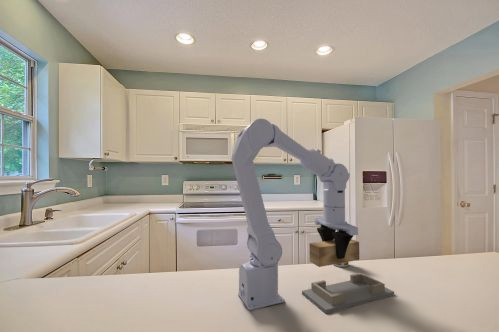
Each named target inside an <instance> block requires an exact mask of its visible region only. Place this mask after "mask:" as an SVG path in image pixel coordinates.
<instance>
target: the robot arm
mask: <svg viewBox="0 0 499 332" xmlns="http://www.w3.org/2000/svg"><path fill="white" fill-rule="evenodd" d="M274 147H275V148H277V149H278V150H279V149H280V150H281V151H283V152H285V153H287V154H288V155H290V156H292V157H294V158H296V159H298V160H299V161H300V165H301V167H302V168H304V169H305V170H307V171H309V172H310V173H312V174H314V175H315V176H317V177H318V179H319V181H320V182H321V183H322V187H323V188H322V189H323V192H322V193H323V194H322V195H323V206H322V207H323V208H322V209H323V210H322V212H323V217H314V225H319V227H317V228H316V231H317V232H318V235H319V236H320V238H321V242H323V241H330V240H334V241H335V245H336V256H337V258H338V259H343V258H345V254H346V250H347V247H348V244H349V242H350V240H351V239H352V240H353V237H354V236H358V235H359V227H358V226H355V225H353V224H350V223H348V221H347V220H346V189H347V182H348V181H349V179H350V175H351V173H350V172H349V171H348V169H347V167H346V166H345V165H344V164H342V163H336V162H335V161H334V159H332V158H328V157H327V156H326V155H324V154H322V153H321V152H322V150H320V149H318V148H309V149H307V148H306V147H304V146H303V145H301V143H298V142H297V141H296V140H295V139H293V138H292V137H290V136H289V135H288V134H286V133H285V132H283V131H282V130H281V129H280V127H279V126H277V125H276V124H273V123H271V122H270V121H269V120H268V119H265V118H257V119H255V120H253V121H252V122H251V123H250V124H249V125H247V126H246V127H244V128H243V129H242V130H241V131H240V132H239V134H238V135H237V136H236V142H235V145H234V148H233V150H232V154H231V163H232V167H233V170H234V174H235V178H236V182H237V186H238V190H239V194H240V198H241V202H242V203H241V204H242V206H243V210H244V214H245V218H246V221H247V229H246V232H247V240H246V246H247V249H248V250H249V252H250V256H249V258H248V261H247V262H245V263H242V264H239V265H240V266H239V269H238V292H237V294H238V297H239V298H240V299H241V300H242V302H243V303H244V305H245V306H246V308H247V310H248V311H249V310H250V311H251V310H256V309H261V308H264V307H265V308H266V307H268V306H269V307H270V306H273V305H277V304H282V303H285V302H286V300H285V298H284V297H283V296H282V295H281V294H280V293H279V261H280V260H281V258H282V256H283V248H282V244H281V243H280V242H279V241H278V239H277V237H276V234H275V232H274V229H273V228H272V227H271V225H270V223H269V220H268V216H267V212H266V208H265V204H264V200H263V196H262V195H263V194H262V192H261V191H262V190H261V188H260V185H259V180H258V175H257V172H256V167H255V164H254V160H255V159H256V157H257V155H258V154H259V153H260V152H261V150H262V149H264V148H274Z"/></svg>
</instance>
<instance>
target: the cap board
mask: <svg viewBox="0 0 499 332" xmlns="http://www.w3.org/2000/svg"><path fill="white" fill-rule="evenodd" d="M349 277H350V278H349V279H350V280H345V281H342V282H336V283H332V284H327V281H326V280H325V279H324V280H318V281H314V282H311V288H308V289H305V290H302V291H301V295H302V296H303V297H305V299H307V300H309V302H311V303H312V304H313V305H314V306H316V307H317V308H318V309H320V310H321V311H322V312H323V313H324V314H328V313H329V314H330V313H332V312H337V311H340V310H344V309H347V308H352V307H354V306H355V307H356V306H359V305H363V304H365V303H371V302H373V301H376V300H380V299H384V298H388V297H391V296H392V297H393V296H395V291H394V290H392V289H390V288H388V287H385V284H386V283H383V282H381V281H380V280H378V279H375V278H373V277H371V276H369V275H367V274H364V273H362V272H357V273H353V274H350V276H349Z"/></svg>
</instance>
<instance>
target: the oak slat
mask: <svg viewBox="0 0 499 332" xmlns="http://www.w3.org/2000/svg"><path fill="white" fill-rule="evenodd" d="M308 247H309V263H312V264H313V265H315V266H316V267H319V268H323V267H327V266H334V265H333V264H339V263H344V262H348V263H350V262H354V261H355V262H356V261H360V241H358V240H355V239H353V238H352V239H351V240H350V242H349V244H348V247H347V250H346V254H345V258H343V259H338V258H337V256H336V245H335V241H334V240H330V241H323V242H322V241H317V242H310V243H309V246H308Z"/></svg>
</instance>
